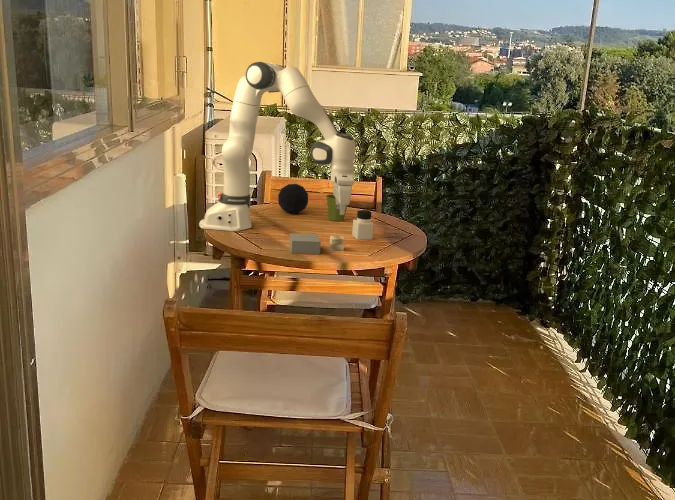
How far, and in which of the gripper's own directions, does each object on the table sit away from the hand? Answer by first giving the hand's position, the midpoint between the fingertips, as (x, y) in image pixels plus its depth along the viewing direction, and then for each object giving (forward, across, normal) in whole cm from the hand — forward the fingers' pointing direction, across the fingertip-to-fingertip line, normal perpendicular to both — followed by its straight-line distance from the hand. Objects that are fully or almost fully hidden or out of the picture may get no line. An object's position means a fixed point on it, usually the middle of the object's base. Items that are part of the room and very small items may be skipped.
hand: (340, 211), depth 249 cm
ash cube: (+16, 0, -1) cm, 16 cm away
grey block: (+15, +2, -14) cm, 21 cm away
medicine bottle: (+16, -19, +14) cm, 28 cm away
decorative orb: (+15, -60, -13) cm, 63 cm away
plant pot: (+16, -49, +7) cm, 52 cm away
